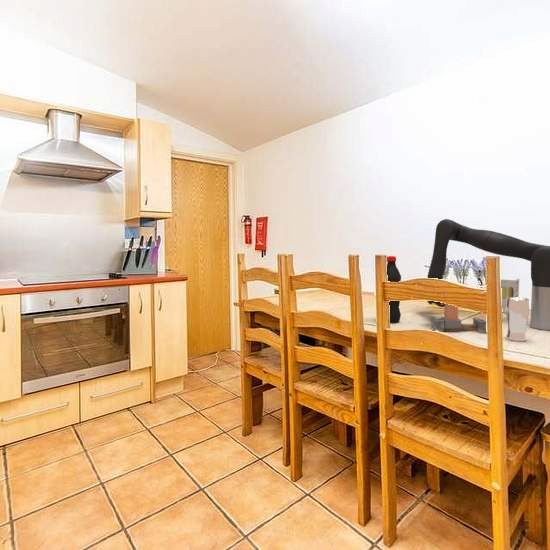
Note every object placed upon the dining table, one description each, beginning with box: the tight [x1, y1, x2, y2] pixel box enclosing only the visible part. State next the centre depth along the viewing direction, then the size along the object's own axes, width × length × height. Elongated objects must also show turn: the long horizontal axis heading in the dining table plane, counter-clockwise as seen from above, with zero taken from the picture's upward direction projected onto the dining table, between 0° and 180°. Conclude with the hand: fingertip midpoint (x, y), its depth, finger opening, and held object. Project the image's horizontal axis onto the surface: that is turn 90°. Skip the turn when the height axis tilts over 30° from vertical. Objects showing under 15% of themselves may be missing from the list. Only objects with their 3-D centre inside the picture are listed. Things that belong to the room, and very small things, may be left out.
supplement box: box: [500, 277, 520, 314], centre depth 178 cm, size 10×9×17 cm
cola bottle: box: [386, 255, 402, 324], centre depth 162 cm, size 8×8×30 cm
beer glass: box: [505, 296, 530, 342], centre depth 130 cm, size 7×7×15 cm
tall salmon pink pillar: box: [440, 304, 462, 328], centre depth 144 cm, size 6×6×17 cm
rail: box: [431, 316, 487, 334], centre depth 144 cm, size 19×7×5 cm, turn 79°
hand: (451, 303), depth 145 cm, fingers open, 8 cm apart
